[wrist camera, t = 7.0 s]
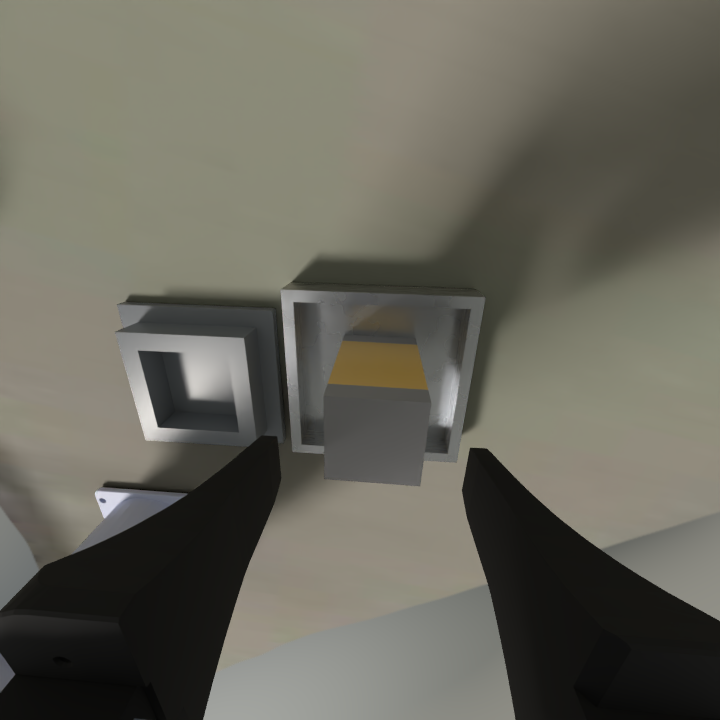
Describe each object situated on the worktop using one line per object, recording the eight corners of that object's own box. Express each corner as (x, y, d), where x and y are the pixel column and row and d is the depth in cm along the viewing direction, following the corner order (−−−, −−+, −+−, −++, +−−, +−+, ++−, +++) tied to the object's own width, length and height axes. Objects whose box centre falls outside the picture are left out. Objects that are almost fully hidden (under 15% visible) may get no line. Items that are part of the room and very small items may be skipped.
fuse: (409, 400, 20) (420, 486, 14) (343, 396, 20) (324, 479, 14) (415, 338, 19) (431, 402, 12) (344, 334, 19) (323, 396, 12)
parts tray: (450, 441, 22) (456, 462, 20) (300, 432, 22) (292, 451, 20) (475, 288, 18) (485, 297, 16) (291, 282, 18) (280, 289, 16)
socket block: (285, 437, 23) (275, 461, 20) (158, 429, 23) (134, 452, 21) (275, 308, 19) (260, 320, 17) (124, 302, 19) (91, 312, 17)
